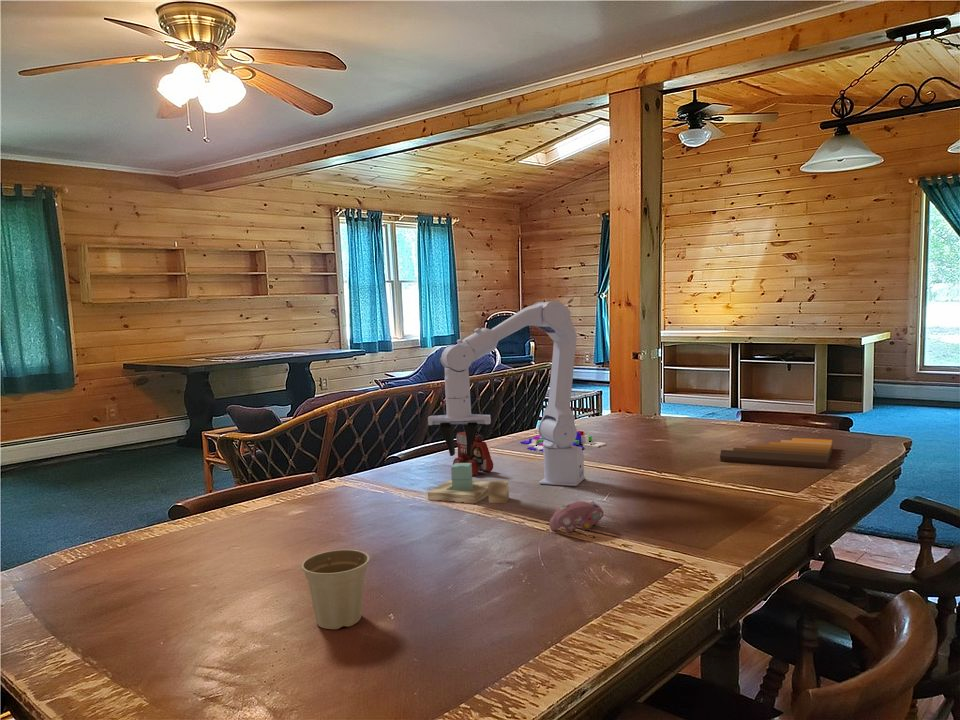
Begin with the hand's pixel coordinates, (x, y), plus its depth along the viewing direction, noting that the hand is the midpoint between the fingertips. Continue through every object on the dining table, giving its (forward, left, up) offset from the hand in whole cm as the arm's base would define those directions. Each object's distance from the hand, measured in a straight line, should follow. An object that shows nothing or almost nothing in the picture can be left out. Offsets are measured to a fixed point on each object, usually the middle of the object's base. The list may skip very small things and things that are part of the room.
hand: (461, 455), depth 158 cm
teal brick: (0, 0, -8) cm, 8 cm away
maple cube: (-10, +2, -10) cm, 14 cm away
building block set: (-4, -59, -10) cm, 60 cm away
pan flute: (-66, -58, -10) cm, 88 cm away
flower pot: (-12, +64, -10) cm, 66 cm away
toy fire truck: (+7, -21, -10) cm, 24 cm away
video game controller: (-33, +17, -10) cm, 38 cm away
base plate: (0, 0, -9) cm, 9 cm away
